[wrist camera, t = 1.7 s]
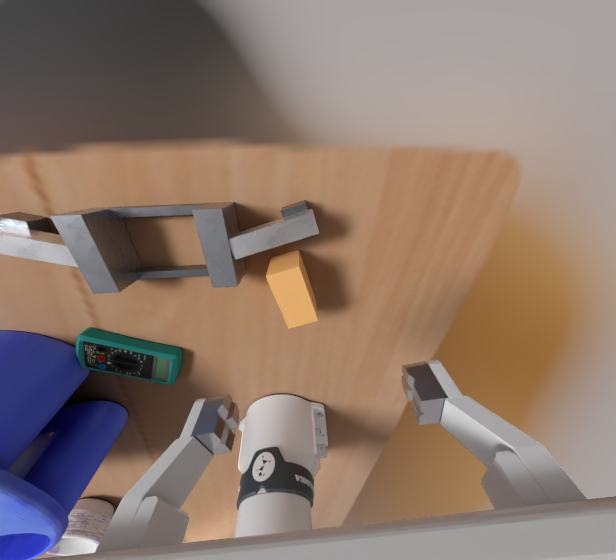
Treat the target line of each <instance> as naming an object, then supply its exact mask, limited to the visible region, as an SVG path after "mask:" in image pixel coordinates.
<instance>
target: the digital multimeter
mask: <svg viewBox="0 0 616 560" xmlns="http://www.w3.org/2000/svg"><path fill="white" fill-rule="evenodd" d="M76 354H77V357H78V360H79V362H80V364H81V367H82V368H84V369H89V370H95V371H101V372H106V373H112V374H117V375H123V376H128V377H133V378H138V379H143V380H147V381H152V382H157V383H161V384H166V385H172V384H173V383H174V382H175V380H176V378H177V377H178V375H179V371H180V368H181V363H182V349H181V348H178V347H174V346H169V345H164V344H158V343H153V342H149V341H144V340H140V339H135V338H131V337H127V336H123V335H119V334H114V333H110V332H106V331H103V330H99V329H95V328H88V329H86V330H85V331H84V332H82V333H81V334H80V335H78V338H77V341H76Z"/></svg>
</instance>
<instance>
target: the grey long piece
mask: <svg viewBox="0 0 616 560" xmlns="http://www.w3.org/2000/svg"><path fill="white" fill-rule="evenodd" d="M281 213H282V216H283V218H281V219H278V220H275V221H272V222H268V223H265V224H262V225H259V226H256V227H253V228H250V229H247V230H244V231H241V232H240V231H239V226H238V220H237V215H236V209H235V204H234V202H228V203H204V204H180V205H156V206H132V207H108V208H90V209H85V210H80V211H74V212H69V213H64V214H58V215H53V216H50V217H51V219H52V221H53V223H54V225H55V226H56V228H57V230H58V232H59V233H60V235H59V234H54V233H51V230H50V226H49V223H48V219H47V218H46V217H40V216H35V215H30V214H25V213H20V212H16V213H10V214H3V215H0V254H4V255H10V256H16V257H22V258H28V259H34V260H39V261H45V262H51V263H57V264H63V265H69V266H75V267H79V269H80V271H81V272H82V274H83V276H84V278H85V280H86V281H87V283H88V285H89V287H90V288H91V290H92V292H93V294H99V293H118V292H121V291H122V290H124V289H125V288H126V287H128V286H129V285H131V284H132V283H134V282H135V281H137V280H138V279H152V278H172V277H192V276H210V280H211V284H212V287H213V288H216V287H235V286H238V285H239V283H240V281H241V279H242V277H243V275H244V273H245V271H246V265H245V259H244V257H245V256H249V255H252V254H255V253H258V252H261V251H265V250H268V249H271V248H274V247H278V246H281V245H284V244H287V243H290V242H292V243H293V242H297V241H300V240H303V239H306V238H309V237H313V236H315V235H316V234H319V230H318V227H317V223H316V220H315V216H314V213H313V210H312V209H309V210H308V209H307V205H306V202H305V200H304V201H301V202H298V203H295V204H292V205H289V206H286V207H283V208H282V209H281ZM171 215H193V217H194V220H195V224H196V228H197V232H198V235H199V239H200V243H201V246H202V250H203V254H204V258H205V261H206V265H190V266H169V267H149V268H143V267H142V265H141V263H140V260H139V258H138V255H137V253H136V250H135V248H134V246H133V243H132V241H131V238H130V236H129V234H128V231H127V229H126V226H125V224H124V222H123V219H122V218H124V217H147V216H171Z"/></svg>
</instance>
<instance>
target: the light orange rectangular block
mask: <svg viewBox="0 0 616 560" xmlns="http://www.w3.org/2000/svg"><path fill="white" fill-rule="evenodd" d="M266 278H267V280H268V283H269V285H270V287H271V289H272V292H273V294H274V296H275V298H276V301H277V303H278V305H279V307H280V310H281V312H282V314H283V317H284V319H285V321H286V323H287V326H288V328H289V329H290V328H293V327H297V326H301V325H304V324H308V323H312V322H315V321H318V315H317V308H316V301H315V295H314V293H313V290H312V287H311V284H310V281H309V278H308V275H307V272H306V269H305V266H304V263H303V260H302V257H301V254H300V252H299V249H298V250H295V251H291V252H288V253H285V254H282V255H278V256H275V257H272V258H271V260H270V264H269V267H268V270H267V274H266Z"/></svg>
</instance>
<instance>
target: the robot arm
mask: <svg viewBox="0 0 616 560" xmlns="http://www.w3.org/2000/svg"><path fill="white" fill-rule="evenodd" d="M402 372H403V374H404V375H403V376H402V385H403V389H404V391H405V394H406V396H407V398H408V399H409V400H410V401H411V402H412V410H413V412H414V415H415V417H416V419H417V421H418V424H419V425H424V424H433V423H440V424H441V425H442V426H443V427H444V428H445V429H446V430H447V431H448V432H449V433H451V434H452V435H453V436H454V437H455V438H456V439H457V440H458V441H459V442H461V444H463V445H464V446H465V447H466V448H467V449H468V450H469V451H470V452H471V453H472V454H473V455H475V456H476V457H477V458H478V459H479V460H480V461H481V462H482V463H483V464H484V465H486V466H487V467H488V469H487V471H486V473H485V475H484V477H483V479H482V482H481V484H482V486H483V488H484V490H485V492H486V494H487V496H488V497H489V499H490V501H491V503H492V505H493V507H494V509H495V510H485V511H476V512H467V513H458V514H449V515H439V516H430V517H421V518H411V519H402V520H393V521H384V522H374V523H366V524H356V525H347V526H337V527H328V528H319V529H312V522H311V508H312V506H313V498H314V477H315V475H316V474H317V472H318V471H319V470H320V458H326V457H327V452H326V447H327V446H328V436H327V427H326V417H325V408H324V405H323V404H320V403H315V402H309V401H306V400H304V399H302V398H300V397H297V396H293V395H282V394H281V395H271V396H267V397H264V398H261V399H259V400H257V401H256V402H254V403H253V404H252V405H251V406H250V407H249V409H248V411H247V414H246V417H245V418H244V419H243V420H242V421H241V422H240V423H239V430H240V431H241V432H242V440H241V447H240V455H239V463H238V468H239V470H240V471H241V473H242V474H243V475H242V477H241V481H240V486H239V489H238V496H237V497H238V500H237V509H238V516H237V522H236V528H235V534H234V538H226V539H217V540H208V541H199V542H190V543H182V542H183V539H184V535H185V532H186V528H187V525H188V521H189V515H188V514H187V513H185V512H184V511H182V510H180V508H181V506H182V504H183V503H184V501H185V500H186V498H187V497H188V495H189V494H190V492H191V490H192V489H193V487H194V486H195V484H196V483H197V481H198V480H199V478H200V476H201V475H202V473H203V472H204V470H205V469H206V467H207V466H208V464H209V462H210V461H211V459H212V458H213V455H215V454H221V453H227V452H231V450H232V446H233V442H234V437H235V434H234V431H233V429H234V428H235V427H236V425H237V424H238V419H239V409H238V406H237V404H236V403H234V402H232V401H231V400H232V397H231V396H230V395H229V394H227V395H221V396H215V397H207V398H201V399H197V400H196V401H195V403H194V405H193V407H192V409H191V412H190V414H189V416H188V419H187V421H186V424H185V426H184V428H183V431H182V433H181V435H180V438H179V439H176V440H175V441H174V442H173V443H172V444H171V445H170V446H169V448H168V449H167V450H166V451H165V452H164V453H163V454H162V455H161V456H160V457H159V459H158V460H157V461H156V462H155V463H154V464H153V465H152V466H151V467H150V469H149V470H148V471H147V472H146V473H145V474H144V475H143V476H142V477H141V478H140V480H139V481H138V482H137V483H136V484H135V485H134V486H133V487H132V488H131V490H130V491H129V492H128V493H127V494H126V495H125V496H124V497H123V498H122V500H121V502H120V504H119V506H118V508H117V510H116V512H115V514H114V516H113V518H112V520H111V522H110V524H109V526H108V527H107V529H106V531H105V533H104V535H103V537H102V539H101V541H100V543H99V545H98V547H97V549H96V551H95V553H88V554H79V555H69V556H60V557H51V558H42V559H32V560H616V496H615V497H606V498H596V499H587V498H586V497H585V496H584V495H583V493H582V492H581V491H580V490H579V489H578V488H577V486H576V485H575V484H574V483H573V481H572V480H571V479H570V478H569V477H568V475H567V474H566V473H565V472H564V470H563V469H562V468H561V467H560V466H559V464H558V463H557V462H556V461H555V459H554V458H553V457H552V456H551V455H550V453H549V452H548V451H547V450H546V449H545V447H544V446H543V445H542V444H540V443H539V442H537V441H536V440H534V439H533V438H531V437H529V436H528V435H526V434H525V433H523V432H522V431H520V430H519V429H517V428H516V427H514V426H513V425H511V424H509V423H508V422H506V421H505V420H504V419H502V418H500V417H499V416H497V415H496V414H494V413H493V412H491V411H490V410H488V409H487V408H485V407H483V406H482V405H480V404H479V403H478V402H476V401H475V400H473V399H471V398H470V397H468V396H467V395H466V396H463V395H462V394H461V392H460V391H459V389H458V388H457V386H456V385H455V383H454V382H453V380H452V379H451V377H450V376H449V374H448V373H447V371H446V370H445V368H444V367H443V365H442V364H441V362H440V361H438V360H432V361H426V362H425V361H424V362H419V363H413V364H408V365H403V366H402Z"/></svg>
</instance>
